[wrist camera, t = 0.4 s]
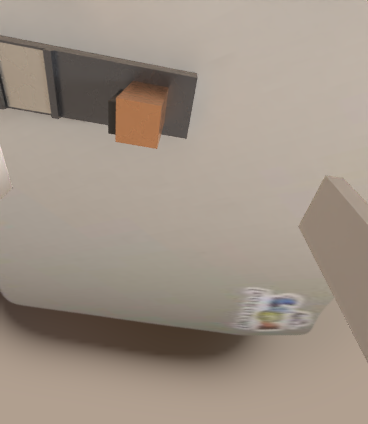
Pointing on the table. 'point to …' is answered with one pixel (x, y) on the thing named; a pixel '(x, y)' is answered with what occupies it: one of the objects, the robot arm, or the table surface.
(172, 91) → the rail
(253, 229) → the table surface
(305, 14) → the table surface
